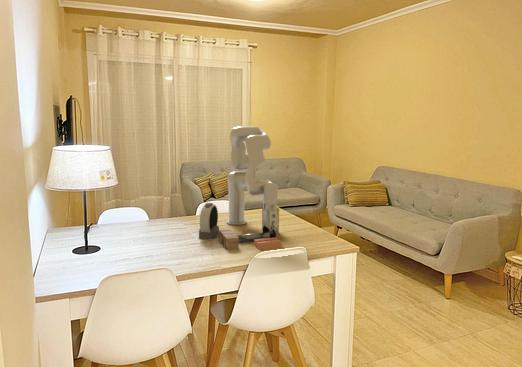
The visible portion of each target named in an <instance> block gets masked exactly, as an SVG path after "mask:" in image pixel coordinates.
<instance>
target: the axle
mask: <svg viewBox="0 0 522 367" xmlns="http://www.w3.org/2000/svg"><path fill="white" fill-rule="evenodd" d="M270 233H271V232H262V231H261V232H253V233H243V234H242V233H241V234H236V235H237V236H238V237H239V243H247V242H254V240H255V239H264V238H270Z"/></svg>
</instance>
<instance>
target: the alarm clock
mask: <svg viewBox="0 0 522 367" xmlns="http://www.w3.org/2000/svg"><path fill="white" fill-rule="evenodd" d="M218 220H219V212H218V207H217V205H216V204H214V203H213V202H206V203H205V204H204V205H203V206H202V208H201V210H200V216H199V230H198V239H199V240H200V239H201V240H210V241H211V240H215V239H216V238H219V230H220V227H219V225H218V222H219V221H218Z"/></svg>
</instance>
